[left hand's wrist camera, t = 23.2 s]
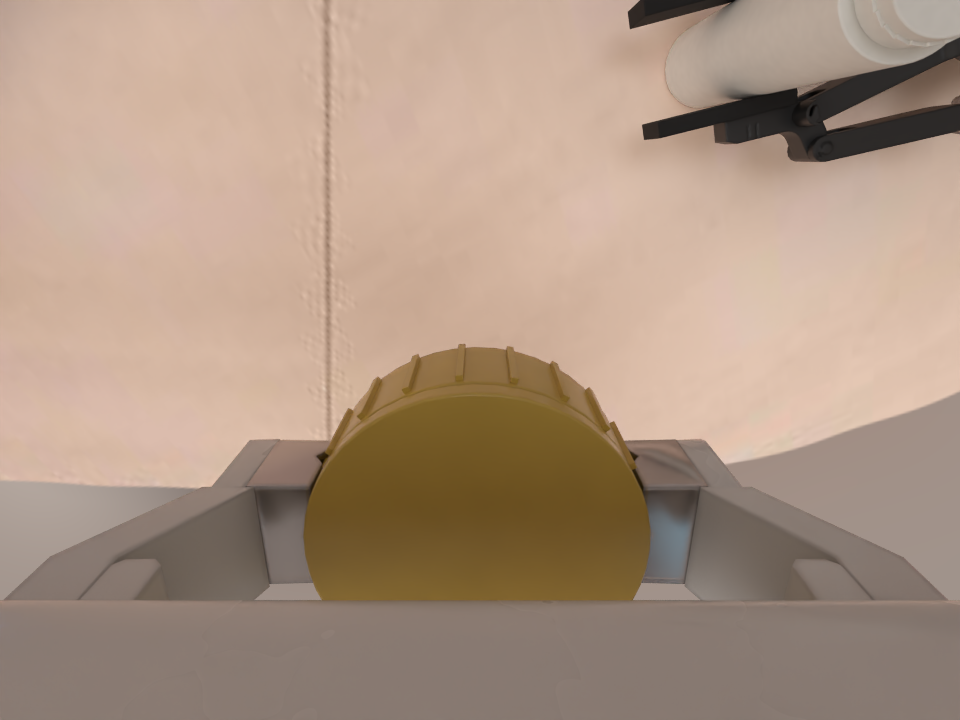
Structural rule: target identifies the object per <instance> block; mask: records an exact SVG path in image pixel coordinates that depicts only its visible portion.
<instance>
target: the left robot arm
mask: <svg viewBox="0 0 960 720" xmlns="http://www.w3.org/2000/svg"><path fill="white" fill-rule="evenodd" d="M330 442H331V441H322V440H280V439H266V440H250V441H249V442H248V443H247V444H246V445H245V447H244V448H243V449H242V450H241V451H240V453H239V454H238V455H237V456H236V458H235V459H234V460H233V461H232V462H231V464H230V465H229V466H228V467H227V469H226V470H225V471H224V472H223V473H222V475H221V476H220V477H219V478H218V480H217V481H216V482H215V483H214V484H213V486H212V487H201V488H199V489H197V490H195V491H193V492H190V493H188V494H186V495H184V496H182V497H179V498H177V499H175V500H173V501H171V502H169V503H166V504H164V505H162V506H160V507H158V508H155V509H153V510H151V511H149V512H147V513H144V514H142V515H140V516H138V517H136V518H134V519H131V520H129V521H127V522H125V523H123V524H120V525H118V526H116V527H114V528H112V529H110V530H107V531H105V532H103V533H101V534H99V535H96V536H94V537H92V538H90V539H88V540H85V541H83V542H81V543H79V544H77V545H75V546H72V547H70V548H68V549H66V550H64V551H61V552H59V553H57V554H55V555H53V556H51V557H49V558H48V559H47V560H46V561H45V562H44V563H43V564H42V565H41V566H40V567H38V568H37V569H36V570H35V571H34V572H33V573H32V574H31V575H30V576H29V577H28V578H27V579H26V580H25V581H23V582H22V583H21V584H20V585H19V586H18V587H17V588H16V589H15V590H14V591H13V592H12V593H11V594H9V595H8V596H7V597H6V598H5V599H4V600H0V720H960V600H948V599H947V598H946V597H945V596H944V595H942V594H941V593H940V592H939V591H938V590H937V589H936V588H935V587H934V586H933V585H932V584H931V583H930V582H929V581H928V580H927V579H926V578H925V577H924V576H923V575H921V574H920V573H919V572H918V571H917V570H916V569H915V568H914V567H913V566H912V565H911V564H910V563H909V562H908V561H907V560H906V559H905V558H904V557H901V556H899V555H897V554H895V553H893V552H891V551H889V550H886V549H884V548H882V547H880V546H878V545H876V544H873V543H871V542H869V541H867V540H865V539H863V538H861V537H858V536H856V535H854V534H852V533H850V532H848V531H845V530H843V529H841V528H839V527H837V526H835V525H833V524H830V523H828V522H826V521H824V520H822V519H820V518H817V517H815V516H813V515H811V514H809V513H807V512H804V511H802V510H800V509H798V508H796V507H794V506H791V505H789V504H787V503H785V502H783V501H781V500H779V499H776V498H774V497H772V496H770V495H768V494H766V493H763V492H761V491H759V490H757V489H755V488H753V487H742V486H741V484H740V483H739V482H738V481H737V480H736V478H735V477H734V476H733V474H732V473H731V472H730V471H729V470H728V468H727V467H726V466H725V465H724V463H723V462H722V461H721V460H720V458H719V457H718V456H717V455H716V453H715V452H714V451H713V450H712V448H711V447H710V446H709V445H708V443H707V442H706V441H704V440H702V439H690V440H635V441H624V442H625V444H626V446H627V448H628V450H629V452H630V454H631V456H632V458H633V460H634V462H635V464H636V466H637V468H636V469H633V470H632V471H633V473H634V475H635V477H636V479H637V481H638V483H639V486H640V488H641V490H642V492H643V495H644V499H645V502H646V505H647V508H648V514H649V521H650V528H651V533H650V551H649V557H648V562H647V568H646V570H645V573H644V576H643V579H642V582H641V583H670V584H685V587H686V588H687V589H689V590H690V591H691V592H692V593H693V594H694V595H695V596H697V597H698V598H699V599H700V600H254V599H256V598H257V597H258V596H259V595H260V594H261V593H263V592H264V591H265V590H266V589H267V588H268V587H269V584H283V583H313V581H312V578H311V576H310V573H309V570H308V565H307V561H306V557H305V550H304V537H303V532H304V520H305V513H306V509H307V505H308V501H309V497H310V495H311V492H312V490H313V488H314V485H315V483H316V481H317V478H318V476H319V474H320V472H321V470H322V468H323V467H322V464H323V462H324V460H325V459H326V458H328V456H329V455H328V454H326V453H325V451H326V449H327V447H328V445H329V443H330Z"/></svg>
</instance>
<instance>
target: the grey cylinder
mask: <svg viewBox="0 0 960 720" xmlns="http://www.w3.org/2000/svg"><path fill="white" fill-rule="evenodd" d="M959 37H960V0H735V1H733V2H732V3H730V4H728V5H727V6H725V7H723V8H722V9H720V10H718V11H717V12H715V13H714V14H712V15H710V16H709V17H707V18H705V19H704V20H702V21H700V22H699V23H697V24H695V25H694V26H692V27H690V28H689V29H687V30H686V31H684V32H683V33H682V34H681V35H680V36H679V37H678V38H677V39H676V41H675V42H674V44H673V45H672V47H671V49H670V51H669V53H668V56H667V60H666V66H665V76H666V82H667V85H668V88H669V90H670V92H671V94H672V95H673V96H674V97H675V98H676V99H677V100H678V101H679V102H680V103H682V104H684V105H686V106H688V107H692V108H705V107H709V106H714V105H719V104H723V103H728V102H733V101H737V100H742V99H747V98H751V97H756V96H761V95H765V94H770V93H775V92H779V91H784V90H789V89H793V88H798V87H803V86H807V85H812V84H817V83H821V82H826V81H831V80H835V79H840V78H844V77H849V76H854V75H858V74H863V73H868V72H872V71H877V70H882V69H886V68H891V67H896V66H900V65H905V64H909V63H913V62H916V61H918V60H921V59H923V58H925V57H927V56H929V55H931V54H933V53H934V52H936V51H937V50H939V49H940V48H942V47H943V46H944V45H945V44H946V43H949V42H951V41H953V40H955V39H957V38H959Z"/></svg>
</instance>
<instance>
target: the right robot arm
mask: <svg viewBox="0 0 960 720" xmlns="http://www.w3.org/2000/svg"><path fill="white" fill-rule="evenodd" d="M733 1H735V0H640V1H639V2H638V3H637V4H636V5H635V6H634V7H633V8H632V9H630V10H629V11H628V17H629V25H630V29H632V28H636V27H640V26H644V25H647V24H651V23H655V22H659V21H662V20H666V19H670V18H674V17H678V16H681V15H685V14H689V13H693V12H696V11H700V10H704V9H708V8H712V7H715V6H719V5H723V4H727V3H730V2H733ZM953 58H956V59H958V60H960V37H959V38H957V39H955V40H953V41H951V42H949V43H946V44H945V45H944V46H943V47H942V48H940V49H939V50H937V51H936V52H934V53H933V54H931V55H929V56H927V57H925V58H923V59H921V60H918V61H916V62H913V63H909V64H905V65H900V66H896V67H891V68H886V69H882V70H877V71H872V72H868V73H863V74H858V75H854V76H849V77H844V78H840V79H835V80H831V81H828V82H826V83H824V84H822V85H820V86H818V87H816V88H814V89H812V90H810V91H808V92H806V93H804V94H802V95H800V96H798V97H797V88H793V89H789V90H784V91H779V92H775V93H770V94H765V95H761V96H756V97H751V98H747V99H742V100H738V101H734V102H730V103H726V104H722V105H718V106H714V107H711V108H707V109H703V110H699V111H695V112H691V113H687V114H683V115H679V116H675V117H671V118H667V119H663V120H659V121H655V122H651V123H647V124H643V125H642V128H643V135H644V140H647V139H658V138H663V137H667V136H671V135H675V134H679V133H683V132H687V131H691V130H695V129H699V128H703V127H707V126H711V125H714V135H715V143H721V144H738V143H742V142H746V141H750V140H754V139H758V138H762V137H766V136H770V135H774V134H778V133H779V134H781V135H783V136H784V137H785V139H786V141H787V143H788V145H789V146H788V150H787V153H788V157H789V158H790V159H791V160H793V161H802V162H826V161H831V160H835V159H839V158H844V157H848V156H852V155H857V154H861V153H865V152H870V151H874V150H878V149H883V148H887V147H892V146H896V145H900V144H905V143H909V142H913V141H918V140H922V139H926V138H931V137H935V136H939V135H944V134H948V133H955V134H960V96H958V97H955V98H954V99H953V101H952V104H951V105H942V106H933V107H927V108H922V109H918V110H914V111H909V112H905V113H901V114H897V115H892V116H888V117H884V118H879V119H875V120H871V121H867V122H862V123H858V124H854V125H849V126H845V127H841V128H837V129H832V130H828V131H827V130H826V128H825V125H824V123H823V121H824V120H826V119H828V118H830V117H832V116H834V115H836V114H838V113H840V112H842V111H844V110H846V109H848V108H850V107H852V106H854V105H856V104H859V103H861V102H863V101H865V100H867V99H869V98H871V97H873V96H875V95H877V94H879V93H881V92H883V91H885V90H887V89H889V88H891V87H893V86H895V85H897V84H899V83H901V82H903V81H905V80H907V79H909V78H912V77H914V76H916V75H918V74H920V73H922V72H924V71H926V70H928V69H930V68H932V67H934V66H936V65H938V64H940V63H942V62H944V61H947V60H950V59H953Z"/></svg>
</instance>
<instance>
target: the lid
mask: <svg viewBox="0 0 960 720" xmlns="http://www.w3.org/2000/svg"><path fill="white" fill-rule="evenodd" d="M325 453H326V454H328V455H329V456H328V458H326V459H325V460H324V462H323V464H322V467H323V468H322V470H321V472H320V474H319V476H318V478H317V481H316V483H315V485H314V488H313V490H312V492H311V495H310V497H309V501H308V505H307V509H306V513H305V520H304V532H303V537H304V550H305V557H306V561H307V565H308V570H309V573H310V576H311V578H312V581H313V583H314V586H315V588H316V591H317V592H318V594H319V596H320V597H321V599H322V600H633V598H634V596H635V595H636V593H637V591H638V589H639V587H640V585H641V582H642V579H643V576H644V573H645V570H646V568H647V562H648V557H649V551H650V533H651V528H650V521H649V514H648V508H647V505H646V502H645V499H644V495H643V492H642V490H641V488H640V486H639V483H638V481H637V479H636V477H635V475H634V473H633V471H632V470H633V469H636V468H637V466H636V464H635V462H634V460H633V458H632V456H631V454H630V452H629V450H628V448H627V446H626V444H625V442H624V440H623V438H622V436H621V434H620V432H619V430H618V428H617V426H616V424H615V422H614V421H613V422H611V423H609V421H608V419H607V417H606V415H605V414H604V412H603V411H602V409H601V407H600V405H599V403H598V401H597V399H596V397H595V394H594V392H593V391H592V390H591V389H590V388H587V389H586V390H585V389H584V388H583V387H582V386H581V385H580V384H578V383H577V382H576V381H575V380H573V379H572V378H571V377H570V376H569V375H567V374H565V373H564V372H562V371H560V369H559V366H558V364H557V363H555V362H553V361H552V362H551V364H548V363H546V362H543V361H541V360H539V359H537V358H534V357H531V356H528V355H525V354H521V353H518V352H515V351H514V348H513V347H509V346H507V348H506V350H503V349H497V348H480V347H471V348H466V346H465V344H459V346H458V349H451V350H446V351H441V352H436V353H433V354H430V355H427V356H424V357H421V358H420V357H419V355H418V354H417V355H415V356H413V357H412V359H411V362H409V363H407V364H405V365H403V366H401V367H399V368H397V369H396V370H394V371H393V372H391V373H390V374H388V375H387V376H385V377H384V378H382V379H380V378H379V377H377V378H375V379H374V380H373V382H372V384H371V387H370V389H369V391H368V392H367V393H366V394H365V395H364V396H363V398H362V399H361V400H360V401H359V402H358V404H357V405H356V406H355V408H354V409H353V410H351V409H349V408H348V410H347V411H346V413H345V415H344V417H343V419H342V421H341V422H340V424H339V426H338V428H337V430H336V432H335V434H334V436H333V438H332V440H331V442H330V443H329V445H328V447H327V449H326V451H325Z"/></svg>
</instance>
